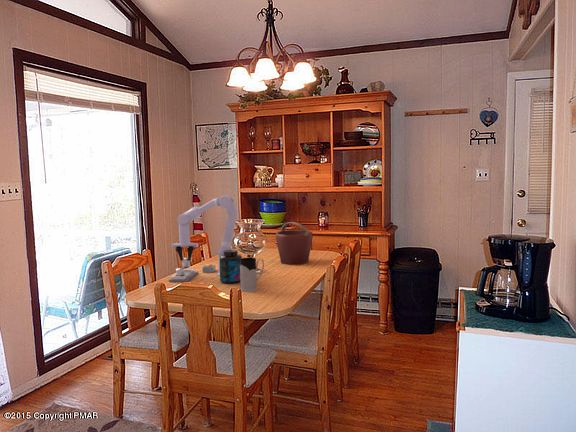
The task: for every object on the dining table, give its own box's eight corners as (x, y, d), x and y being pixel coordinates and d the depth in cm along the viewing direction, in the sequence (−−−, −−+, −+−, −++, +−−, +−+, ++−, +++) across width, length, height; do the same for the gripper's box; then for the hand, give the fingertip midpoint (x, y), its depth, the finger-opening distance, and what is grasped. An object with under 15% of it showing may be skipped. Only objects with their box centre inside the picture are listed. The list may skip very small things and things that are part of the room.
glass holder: (236, 289, 225) (235, 259, 223) (258, 284, 235) (257, 254, 233) (247, 292, 219) (246, 261, 217) (270, 287, 229) (269, 257, 227)
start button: (210, 271, 266) (210, 265, 266) (205, 271, 267) (205, 265, 266) (212, 270, 269) (212, 264, 269) (207, 270, 270) (206, 264, 269)
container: (221, 278, 248) (220, 249, 247) (243, 278, 248) (242, 248, 247) (218, 284, 237) (217, 253, 235) (242, 283, 237) (240, 252, 235)
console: (212, 272, 265) (212, 267, 264) (202, 272, 265) (202, 267, 265) (215, 270, 271) (215, 265, 270) (205, 270, 271) (205, 265, 271)
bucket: (318, 264, 280) (317, 222, 277) (284, 267, 272) (282, 225, 269) (302, 257, 303) (301, 219, 300) (270, 260, 294) (268, 221, 292)
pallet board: (187, 281, 244) (187, 276, 243) (168, 281, 245) (168, 276, 244) (198, 273, 264) (197, 268, 263) (180, 273, 264) (180, 268, 264)
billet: (191, 267, 258) (190, 258, 257) (184, 268, 256) (183, 259, 255) (188, 265, 261) (187, 257, 260) (181, 267, 259) (180, 258, 258)
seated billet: (185, 277, 247) (184, 268, 247) (178, 279, 245) (177, 269, 245) (182, 276, 251) (182, 267, 250) (175, 277, 249) (175, 268, 248)
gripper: (199, 234, 259) (200, 258, 260) (174, 234, 260) (175, 258, 262) (195, 236, 252) (196, 260, 253) (169, 236, 253) (171, 261, 255)
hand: (185, 260), depth 257 cm, fingers closed on billet, 4 cm apart
